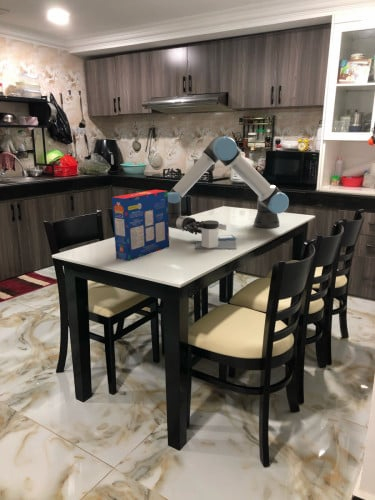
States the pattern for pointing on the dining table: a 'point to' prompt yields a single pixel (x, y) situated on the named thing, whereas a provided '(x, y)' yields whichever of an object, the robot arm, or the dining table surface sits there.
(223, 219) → the dining table surface
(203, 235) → the jar
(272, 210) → the robot arm
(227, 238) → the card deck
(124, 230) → the blue cardboard box
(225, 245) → the mat
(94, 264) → the dining table surface
